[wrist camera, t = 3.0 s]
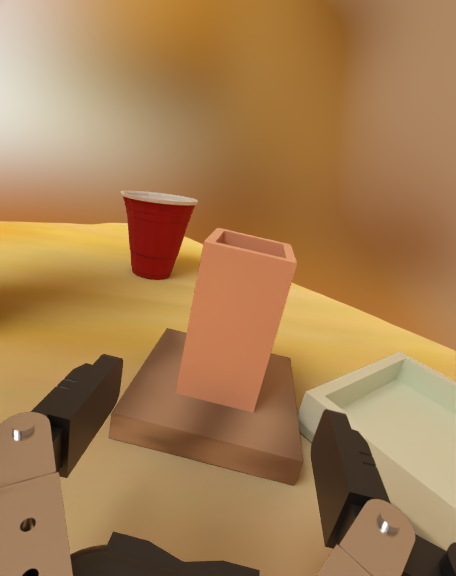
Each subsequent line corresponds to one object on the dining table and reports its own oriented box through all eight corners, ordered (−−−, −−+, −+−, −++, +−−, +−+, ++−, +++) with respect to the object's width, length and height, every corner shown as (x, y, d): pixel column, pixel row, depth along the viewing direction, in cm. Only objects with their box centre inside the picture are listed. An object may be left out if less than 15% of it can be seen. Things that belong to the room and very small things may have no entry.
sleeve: (175, 393, 23) (203, 241, 20) (194, 347, 29) (219, 225, 26) (253, 412, 23) (297, 263, 19) (256, 363, 29) (289, 242, 26)
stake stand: (108, 437, 21) (120, 326, 18) (164, 346, 32) (176, 269, 30) (294, 485, 21) (334, 378, 18) (284, 375, 32) (308, 300, 29)
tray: (293, 426, 26) (305, 391, 24) (388, 377, 36) (400, 351, 35) (566, 673, 15) (610, 630, 13) (590, 501, 25) (617, 468, 24)
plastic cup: (135, 256, 57) (143, 184, 53) (194, 273, 55) (207, 200, 51) (97, 271, 47) (104, 184, 43) (168, 292, 45) (182, 203, 41)
